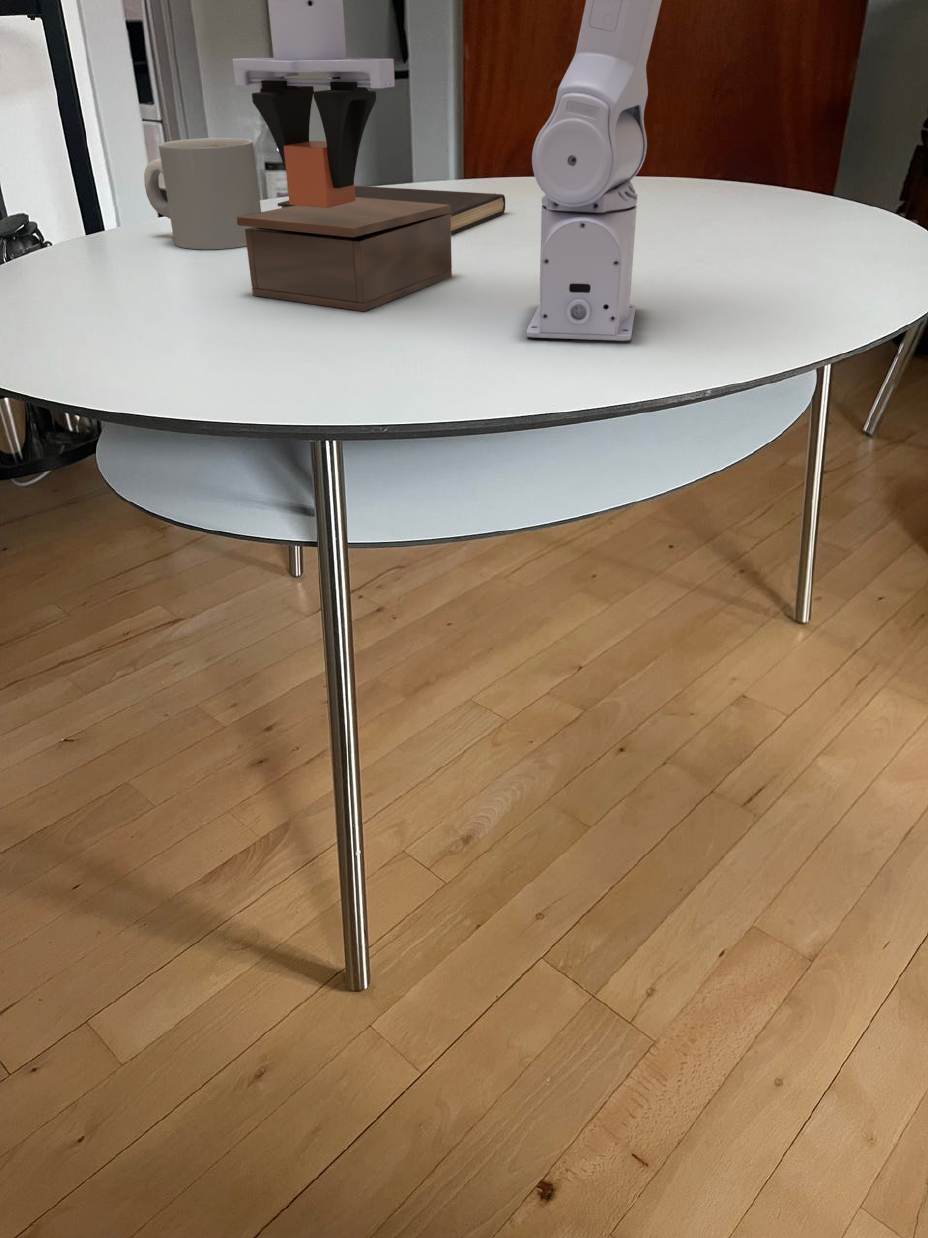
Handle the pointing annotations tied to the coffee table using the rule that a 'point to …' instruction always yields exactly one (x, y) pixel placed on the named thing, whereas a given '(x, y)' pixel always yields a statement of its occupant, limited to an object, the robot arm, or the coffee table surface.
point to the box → (349, 264)
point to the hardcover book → (463, 205)
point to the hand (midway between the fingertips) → (321, 184)
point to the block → (313, 177)
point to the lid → (345, 217)
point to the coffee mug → (205, 190)
